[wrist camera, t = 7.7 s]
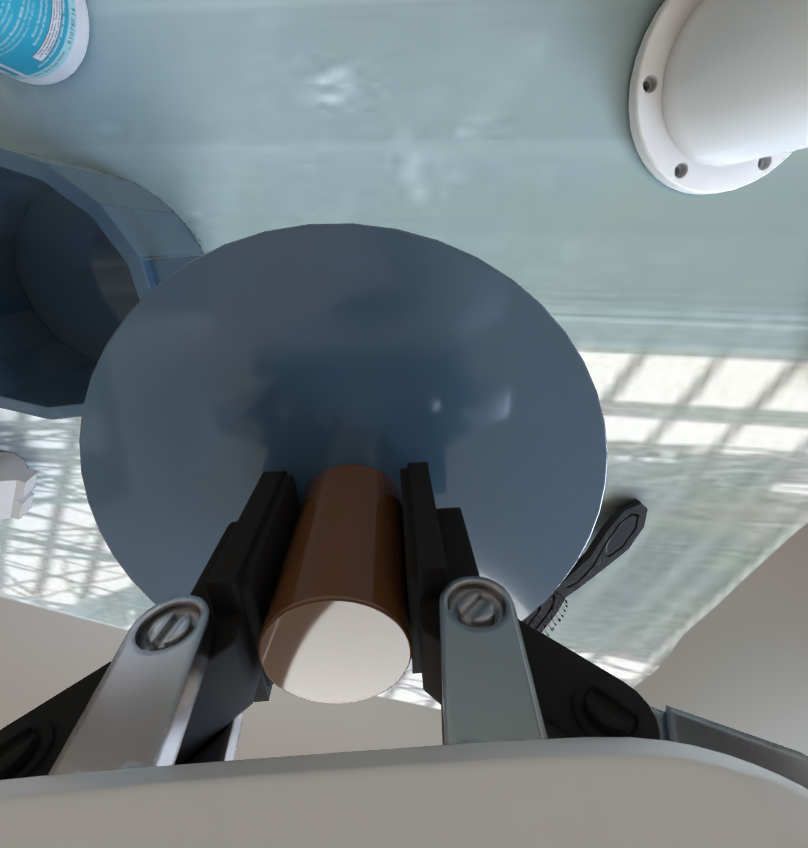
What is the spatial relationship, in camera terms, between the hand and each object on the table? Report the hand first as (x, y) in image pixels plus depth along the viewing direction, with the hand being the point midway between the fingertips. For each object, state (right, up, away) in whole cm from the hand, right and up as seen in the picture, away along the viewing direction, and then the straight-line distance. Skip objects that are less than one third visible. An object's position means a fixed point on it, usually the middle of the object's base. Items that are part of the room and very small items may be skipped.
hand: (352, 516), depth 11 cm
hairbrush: (+16, -14, +32) cm, 38 cm away
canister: (-19, +12, +18) cm, 29 cm away
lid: (0, 0, +1) cm, 1 cm away
